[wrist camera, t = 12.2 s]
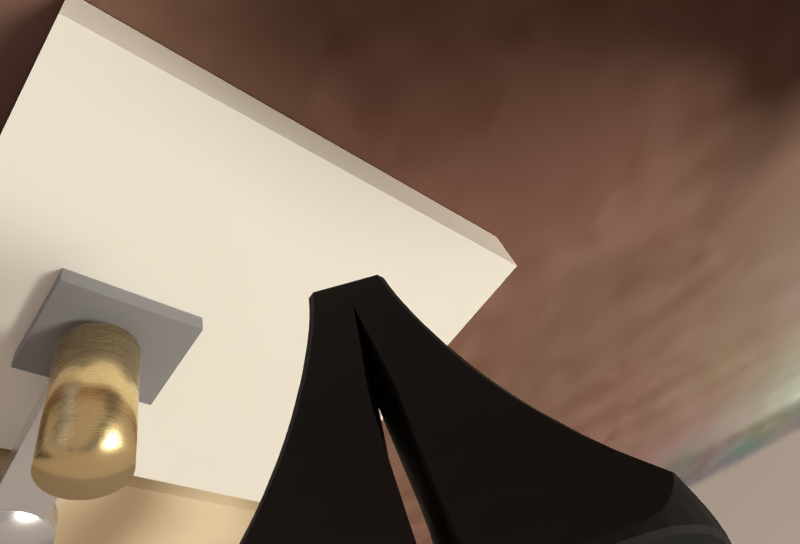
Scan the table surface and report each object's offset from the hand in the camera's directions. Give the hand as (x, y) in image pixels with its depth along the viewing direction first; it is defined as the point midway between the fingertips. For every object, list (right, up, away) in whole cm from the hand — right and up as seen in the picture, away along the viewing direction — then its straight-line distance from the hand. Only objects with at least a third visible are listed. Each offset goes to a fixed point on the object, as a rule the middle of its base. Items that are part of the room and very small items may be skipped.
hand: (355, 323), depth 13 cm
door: (-6, 0, +11) cm, 13 cm away
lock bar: (-11, -5, +9) cm, 15 cm away
